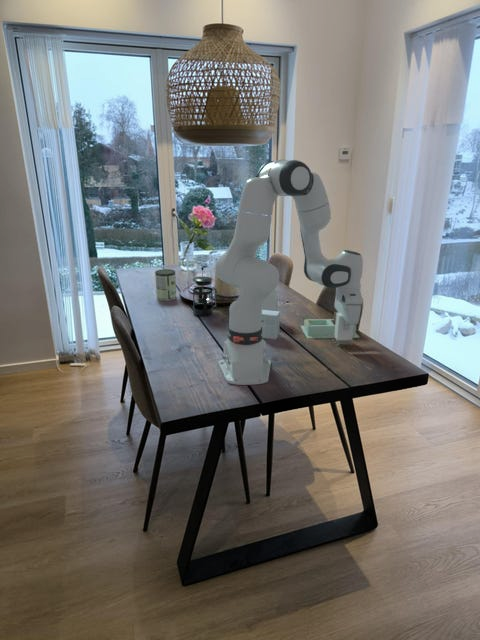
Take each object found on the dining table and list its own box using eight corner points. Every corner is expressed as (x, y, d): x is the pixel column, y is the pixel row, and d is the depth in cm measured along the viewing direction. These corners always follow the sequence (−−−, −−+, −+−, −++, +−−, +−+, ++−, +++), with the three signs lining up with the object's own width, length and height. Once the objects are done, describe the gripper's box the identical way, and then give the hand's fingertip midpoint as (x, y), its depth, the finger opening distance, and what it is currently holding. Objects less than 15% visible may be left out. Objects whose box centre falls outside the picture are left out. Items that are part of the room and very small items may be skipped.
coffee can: (160, 294, 234) (158, 268, 229) (178, 295, 233) (177, 269, 228) (153, 300, 225) (152, 273, 220) (173, 301, 223) (172, 274, 218)
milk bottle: (275, 324, 194) (277, 281, 187) (258, 323, 195) (259, 279, 189) (277, 318, 201) (279, 276, 194) (260, 317, 203) (262, 275, 196)
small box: (279, 334, 183) (280, 311, 179) (276, 339, 178) (277, 315, 174) (260, 332, 185) (261, 309, 181) (257, 337, 180) (258, 313, 176)
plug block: (352, 340, 170) (354, 316, 167) (337, 340, 170) (339, 316, 166) (349, 336, 174) (351, 312, 170) (334, 336, 173) (336, 312, 170)
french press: (194, 317, 201) (193, 268, 193) (189, 311, 209) (188, 264, 201) (218, 315, 204) (218, 267, 196) (213, 309, 213) (213, 262, 205)
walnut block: (349, 332, 183) (351, 315, 180) (335, 333, 183) (336, 315, 180) (346, 329, 187) (348, 311, 184) (332, 329, 187) (334, 311, 184)
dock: (359, 339, 179) (361, 327, 177) (306, 340, 178) (307, 328, 176) (349, 327, 192) (350, 315, 190) (300, 327, 191) (300, 316, 189)
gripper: (332, 285, 175) (329, 318, 180) (347, 301, 156) (343, 337, 160) (347, 285, 175) (344, 318, 180) (364, 301, 156) (360, 337, 161)
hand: (344, 327), depth 170 cm, fingers closed on plug block, 4 cm apart
